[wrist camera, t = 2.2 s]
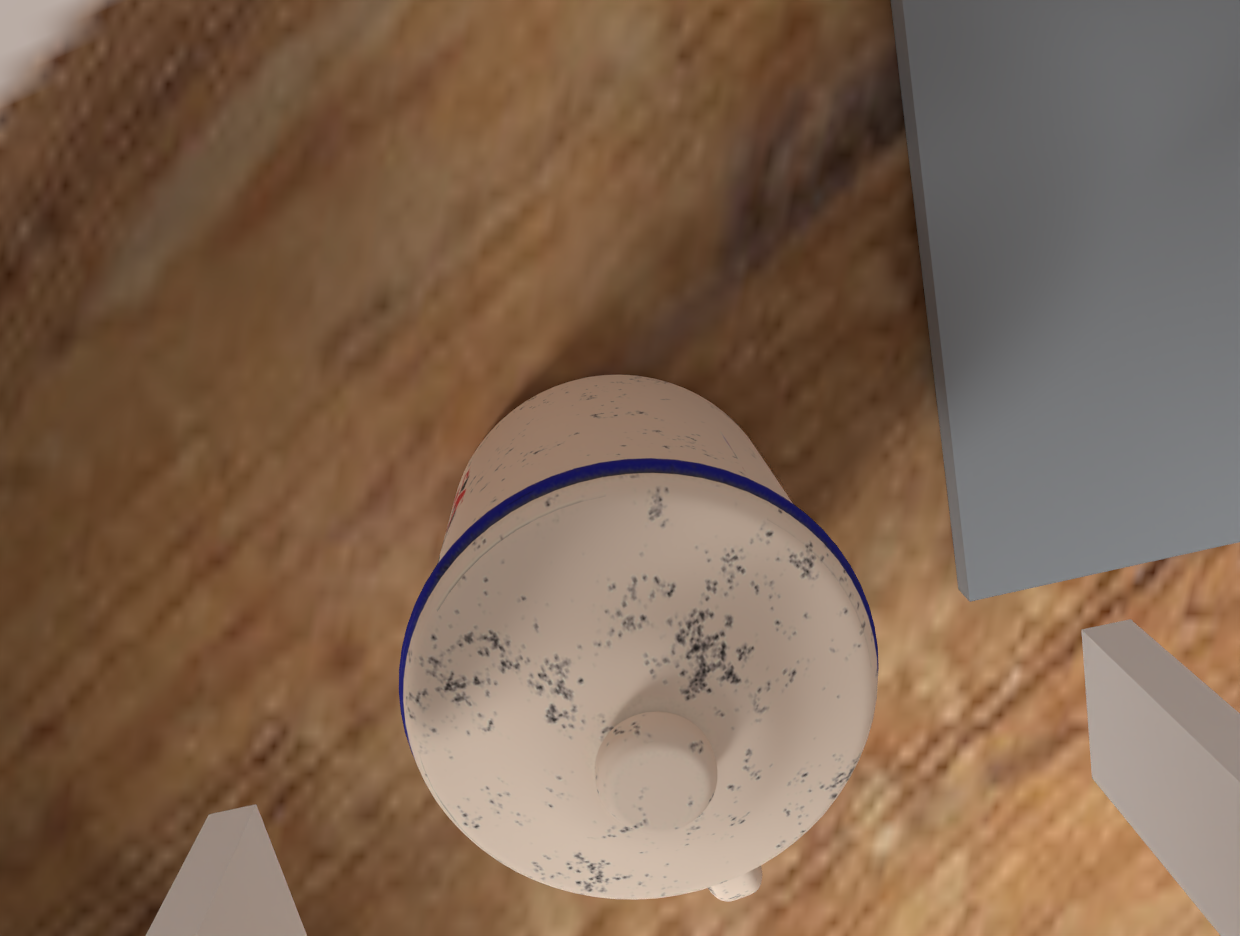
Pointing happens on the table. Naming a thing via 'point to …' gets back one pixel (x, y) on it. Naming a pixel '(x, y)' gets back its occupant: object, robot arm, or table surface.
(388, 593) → the table surface
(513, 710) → the teacup with lid
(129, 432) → the table surface
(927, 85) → the slate mat
